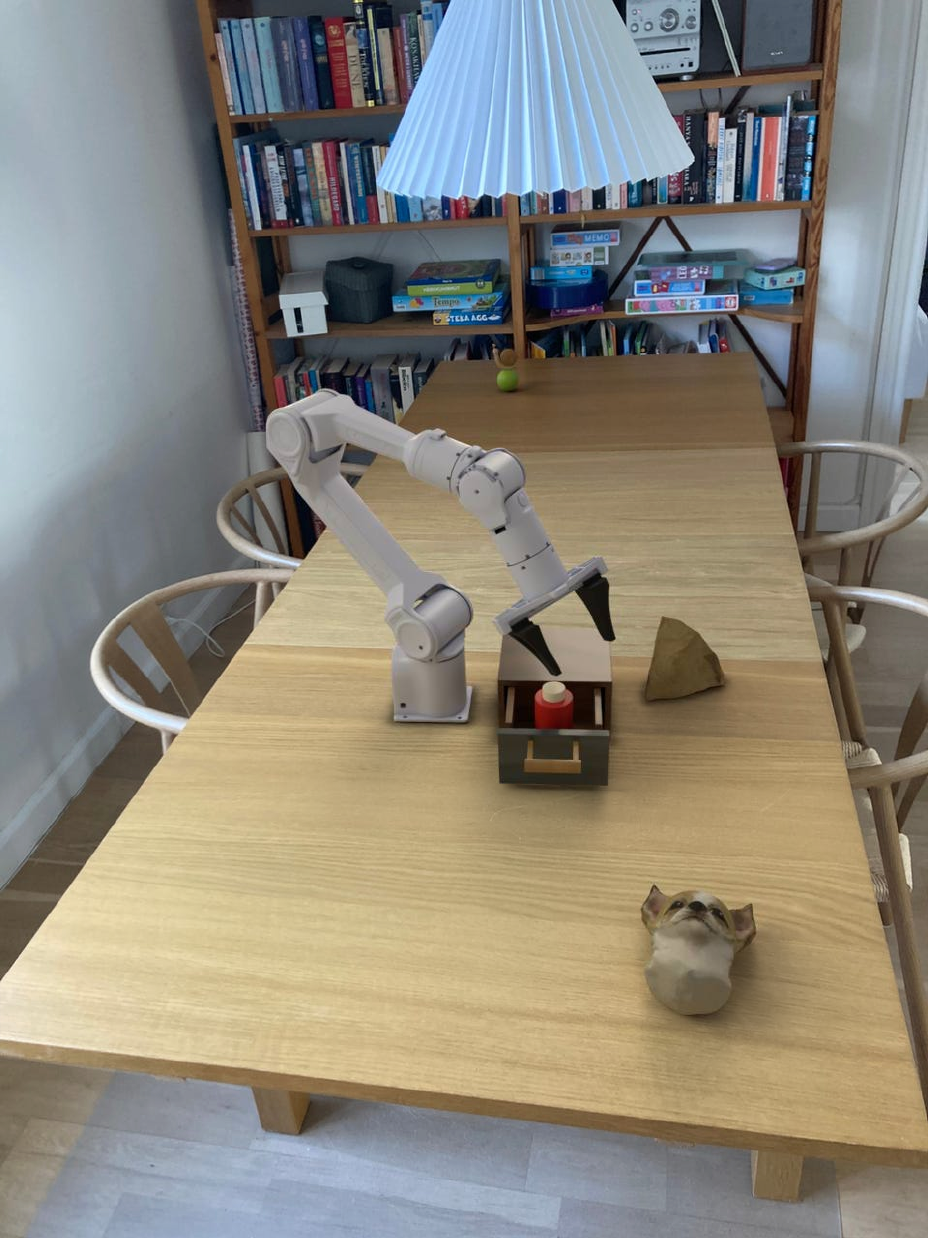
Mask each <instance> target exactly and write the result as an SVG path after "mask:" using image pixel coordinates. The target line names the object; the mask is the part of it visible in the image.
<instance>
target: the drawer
mask: <svg viewBox="0 0 928 1238" xmlns="http://www.w3.org/2000/svg"><path fill="white" fill-rule="evenodd" d="M541 689H543V686H508V697H507V707H506V718H505V728H499V727H497V764H498V784H500V785H501V784H502V785H540V786H542V785H543V786H580V787H582V786H585V787H586V786H587V787H591V786H592V787H608V786H609V770H610V769H609V767H610V766H609V765H610V742H611V733H610V734H609V730H602V728H603V723H602V702H601V687H568V686H565V689H567V690H568V691H570V692H571V693H572V695H573V730H570V729H535V695H536V693H537V692H538V691H539V690H541ZM609 741H610V742H609Z"/></svg>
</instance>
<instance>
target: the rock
mask: <svg viewBox="0 0 928 1238" xmlns="http://www.w3.org/2000/svg"><path fill="white" fill-rule="evenodd" d="M655 636H656V637H655V641H654V647H653V653H652V656H651V657H652V658H651V662H650V666H649V669H648V674H647V679H646V683H645V692H644V693H645V700H646V701H648V702H651V701H653V700H660V699H661V700H662V699H678V698H681V697H685V696H689V695H692V694H695V693H697V692H701V691H705V690H706V689H708V688H713V687H714V688H715V687H717V686H718V687H719V686H722V685H724V684H726V680H725V672H724V671H723V668H722V665H721V662H720V658H719V656H718V655H717V653H716V652H715V651H713V649H712V648H711V647H710V646H709V645H708V644H707V642H706V641H705V639H704V638H703V636H701V634H700V633H699V632H698V631H696V630H695V629H694V628H692V627H691V626H690V625H687V624H686V623H685V622H684V621H682V620H680V619H677V618H674V617H667V616H661V618H660V623H659V625H658V629H657V632H656V635H655Z"/></svg>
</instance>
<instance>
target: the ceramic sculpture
mask: <svg viewBox="0 0 928 1238" xmlns="http://www.w3.org/2000/svg"><path fill="white" fill-rule="evenodd" d="M753 907H754V905H753V903H752V902H751V903H748V904H746V905H745V906H743V907H741V908H736V909H733V908H732V909H728V907H727V905H726V904H725V903H724V902H723V901H722V900H720V898H718V897H717V896H715V895H713V894H711V893H708V892H705V891H700V890H684V891H683V890H682V891H680V892H677V893H675V894H673V895H672V896H671V897H670V896H668V895H666V894H664V893H663V892H662V891H661V890H660V889H659V887H658V886H657V885H656V884H655V883H654V884H652V886H651V888H650V891H649V894H648V896H647V897H646V899H645V900H644V902H643V904H642V905H641V907H640V914H641V916H640V917H641V921H642V923H643V925H644V926H645V928H646V929H647V931H648V932H649V934H650V935H651V936H652V938H651V942H650V944H651V957H650V960H649V961H648V962H647V964H646V965H645V967H644V969H643V975H644V979H645V983H646V987H647V988H648V991H649V992H650V994H651V996H653V997H654V999H655V1000H656V1001H658V1003H660V1004H662V1005H663V1006H666V1007H668V1008H669V1009H670V1008H671V1009H672V1010H673V1011H674V1012H676V1013H678V1014H680V1015H684V1016H688V1015H689V1016H691V1015H692V1016H693V1015H707V1014H713V1013H714V1012H716V1011H718V1010H720V1009H721V1008H722V1007H723V1006H724V1005H725V1004H726V1003H727V1001H728V999H729V998H730V996H731V994H732V990H733V985H732V982H731V979H730V977H729V976H730V971H731V967H732V964H733V962H734V960H735V955H736V954H738V953H740V952H741V951H743V950H744V949H745V948H747V947H748V946H749V945H751V944H752V942H753V940H754V938H755V936H756V934H757V927H756V922H755V918H754V908H753Z"/></svg>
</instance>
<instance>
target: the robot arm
mask: <svg viewBox="0 0 928 1238" xmlns="http://www.w3.org/2000/svg"><path fill="white" fill-rule="evenodd" d="M265 442H266V443H265V444H266V449H267V450H268V452H269V453H270V454H271V456H273V458H274V459H275V460H276V461H277V462H278V464H280V466H281V467H282V468H283V469H284V470H285V472H286V473H287V475H288V477H289V479H290V481H291V484H292V485H293V487H294V488H295V490H296V492H297V493H298V494H299V495H300V496H301V498H302V499H303V500H304V501H305V502H306V504H307V505H308V506H309V508H310V509H311V510H312V512H314V513H315V514H316V516H317V517H318V518H319V519H320V520H321V522H322V523H323V524H324V525H325V526H326V528H327V529H328V530H329V531H330V532H331V533H332V535H333V536H334V537H335V538H336V539H337V541H338V542H339V543H340V544H341V545H342V547H343V548H344V549H345V550H346V551H347V552H348V553H349V555H350V557H352V558H353V560H355V562H356V563H357V564H358V565H359V567H360V568H361V570H363V571H364V573H365V574H366V575H367V576H368V577H369V579H370V580H371V581H372V582H373V583H374V585H375V586H376V587H377V588H378V589H379V591H380V592H381V593H382V594H383V595H384V596H385V597H386V605H385V611H384V623H386V625H387V626H388V627H389V628H390V630H391V631H392V633H393V635H394V639H395V641H396V643H397V644H394V646H393V648H392V652H391V660H390V678H391V690H392V701H393V711H394V715H393V720H394V722H407V723H409V722H410V723H411V722H415V723H416V722H417V723H467V722H468V721H469V716H470V709H471V703H472V696H473V686H472V685H467V672H466V669H467V668H466V651H465V649H466V648H465V638H466V628H468V627H469V626H471V623H472V622H473V619H474V607H473V604H472V602H471V600H470V598H469V597H468V596H467V594H466V593H465V592H463V590H461V589H460V588H458V587H457V586H454V585H453V584H451V583H450V582H449V581H447V580H446V578H445V577H444V576H443V574H442V573H437V572H433V571H428V570H423V569H421V568H420V567H419V566H418V564H416V562H415V561H414V560H413V559H412V558H411V556H410V555H409V554H408V553H407V551H406V550H405V549H404V548H403V547H402V546H401V545H400V543H399V542H398V541H397V539H396V538H394V536H393V535H392V533H390V531H389V530H388V529H387V527H385V525H384V524H383V523H382V522H381V521H380V520H379V518H378V517H377V516H376V515H375V514H374V513H373V511H372V510H371V509H370V508H369V506H368V505H367V504H366V503H365V502H364V500H363V499H362V498H361V497H360V496H359V494H358V493H357V492H356V491H355V490H354V488H353V487H352V486H351V485H350V484H349V483H348V481H347V480H346V479H345V477H344V476H342V474H341V461H342V460H343V457H344V452H345V449H346V446H347V444H349V445H352V446H356V447H357V448H361V449H364V450H367V451H370V452H373V453H375V454H378V455H381V456H384V457H387V458H390V459H393V460H396V461H398V462H401V463H404V466H405V468H406V470H407V473H408V474H409V476H410V477H412V478H413V479H416V480H418V481H421V482H424V483H426V484H428V485H430V486H433V487H434V488H437V489H439V490H442V491H444V492H447V493H449V494H451V495H454V496H456V497H458V502H459V504H460V505H461V507H462V508H463V509H464V510H465V511H467V512H468V514H469V513H470V514H471V515H473V516H474V517H476V518H477V520H478V521H479V523H480V525H481V526H482V528H483V529H484V528H485V530H486V531H487V532H488V534H489V536H490V537H491V540H492V541H493V543H494V545H495V547H496V548H497V550H498V552H499V554H500V556H501V558H502V560H503V562H504V564H505V566H506V568H507V569H508V571H509V573H510V575H511V577H512V579H513V580H514V582H515V584H516V586H517V588H518V590H519V592H520V594H521V595H522V598H520V599H519V600H517V601H516V602H515V603H513V604H511V606H509V607H508V608H507V609H505V610H504V611H502V612H501V613H500V614H498V615H497V616H495V617H493V618H492V619H491V622H492V624H493V625H494V627H495V629H496V631H497V633H498V634H499V635H501V636H502V635H506V634H508V635H510V636H511V637H512V638H514V639H515V640H517V641H518V642H519V643H521V644H522V645H523V646H524V647H526V648H527V649H528V650H529V651H530V652H531V653H532V654H533V655H534V656H535V657H537V659H538V660H539V661H540V662H541V663H542V664H543V665H544V666H545V668H546V669H547V670H548V671H549V673H550V674H551V675H553V676H556V677H557V676H559V675H561V674H562V672H561V670H560V668H559V666H558V664H557V662H556V660H555V659H554V657H553V655H552V654H551V652H550V650H549V648H548V646H547V644H546V642H545V639H544V637H543V634H542V632H541V629H540V628H541V626H540V625H539V624H535V623H534V622H533V620H530V619H531V618H533V617H534V616H536V615H537V614H539V613H541V612H543V611H544V610H546V609H548V608H549V607H550V606H552V605H554V604H555V603H557V602H559V601H561V600H562V599H564V598H565V597H566V596H569V595H570V594H572V593H574V592H575V594H576V595H577V596H578V598H579V599H580V601H581V602H582V603H583V605H584V607H585V608H586V610H587V612H588V613H589V614H590V617H591V618H592V621H593V623H594V625H595V627H596V629H598V631H599V633H600V635H601V636H602V638H603V639H604V641H609V642H610V643H612V642H614V641H615V640H616V639H617V638H616V634H615V631H614V627H613V623H612V617H611V609H610V583H609V580H608V578H607V577H606V576H603V575H605V574H607V573H608V572H609V571H610V570H609V567H608V566H607V564H606V562H605V559H604V558H603V556H593V557H592V558H590V559H588V560H586V561H584V562H583V563H581V564H579V565H577V566H575V567H573V568H571V569H569V570H567V569H566V567H565V565H564V563H563V561H562V559H561V558H560V556H559V554H558V551H557V550H556V548H555V545H554V544H553V542H552V540H551V538H550V536H549V534H548V532H547V530H546V529H545V527H544V524H543V523H542V521H541V519H540V517H539V515H538V514H537V511H536V509H535V507H534V506H533V504H532V502H531V500H530V497H529V495H528V494H527V492H526V490H525V488H524V487H525V486H526V481H527V474H526V470H525V466H524V465H523V464H524V463H522V461H521V460H520V458H519V457H518V456H517V455H516V454H514V453H512V452H511V451H509V450H507V449H506V448H504V447H495V448H492V449H490V450H485V449H482V447H480V446H478V445H476V444H475V445H472V446H471V445H469V444H467V443H464V442H462V441H459V440H457V439H454V438H452V437H449V436H447V432H446V430H443V429H441V428H437V427H436V428H435V429H433V430H432V429H425V430H423V431H421V432H419V433H417V434H416V433H413V432H411V431H409V430H407V429H405V428H403V427H401V426H399V425H397V424H396V423H393V422H391V421H389V420H387V419H385V418H382V417H380V416H379V415H377V414H375V413H372V412H371V411H368V410H367V409H365V408H362V407H361V406H358V405H357V404H356V403H355V402H354V400H353V399H352V397H351V396H350V395H347V394H344V393H343V394H342V393H339V392H337V391H336V390H334V389H332V388H322V389H319V390H316V391H315V392H314V393H313V394H310V395H308V396H306V397H305V398H302V399H299V400H298V401H295V402H293V403H291V404H288V405H286V406H284V407H279V408H277V409H274V410H273V411H271V412H270V414H268V416H267V418H266V423H265ZM418 601H419V602H420V601H421V602H420V603H418V604H417V605H416V606H415V603H416V602H418Z"/></svg>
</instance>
